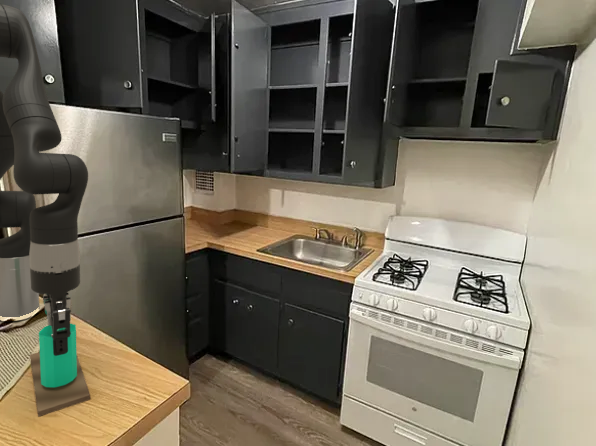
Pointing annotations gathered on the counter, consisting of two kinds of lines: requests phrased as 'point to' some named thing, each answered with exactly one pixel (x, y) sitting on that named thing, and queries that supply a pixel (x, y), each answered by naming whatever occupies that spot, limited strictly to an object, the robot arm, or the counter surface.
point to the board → (57, 390)
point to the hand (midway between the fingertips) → (58, 345)
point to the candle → (57, 359)
